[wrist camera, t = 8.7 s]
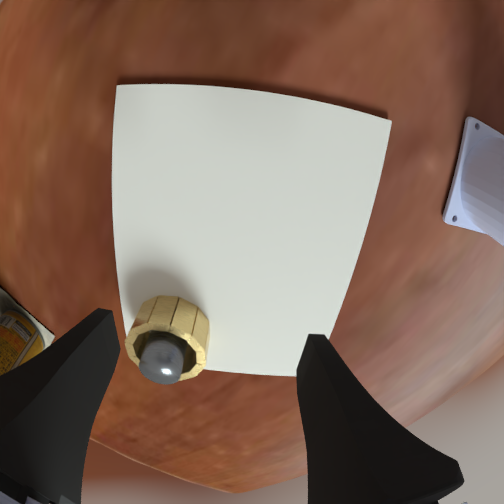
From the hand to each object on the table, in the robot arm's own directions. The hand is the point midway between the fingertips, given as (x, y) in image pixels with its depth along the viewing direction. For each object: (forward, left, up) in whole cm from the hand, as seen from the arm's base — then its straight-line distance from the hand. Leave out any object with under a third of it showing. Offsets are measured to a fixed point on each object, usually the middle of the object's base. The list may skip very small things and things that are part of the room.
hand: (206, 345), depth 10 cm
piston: (+3, +7, -9) cm, 12 cm away
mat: (-1, +1, -9) cm, 9 cm away
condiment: (+21, +12, -10) cm, 26 cm away
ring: (+3, +7, -9) cm, 12 cm away
